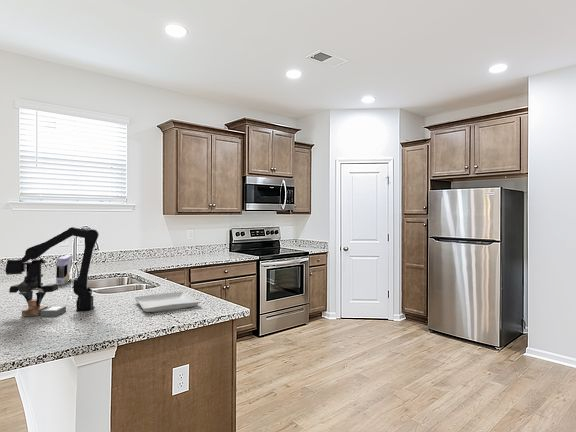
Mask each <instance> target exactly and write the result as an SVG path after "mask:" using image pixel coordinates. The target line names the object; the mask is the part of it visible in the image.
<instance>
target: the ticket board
mask: <svg viewBox="0 0 576 432" xmlns="http://www.w3.org/2000/svg"><path fill="white" fill-rule="evenodd" d="M65 312H67V306H66V305H63V306H62V305H61V306H60V305H58V306H53V305H51V306H48V308H46V309H44V310H42V311H41V315H40V317H58V316H60V315H62V314H64V313H65Z"/></svg>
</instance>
